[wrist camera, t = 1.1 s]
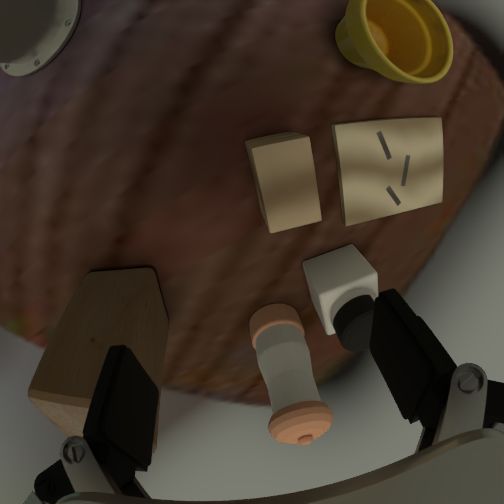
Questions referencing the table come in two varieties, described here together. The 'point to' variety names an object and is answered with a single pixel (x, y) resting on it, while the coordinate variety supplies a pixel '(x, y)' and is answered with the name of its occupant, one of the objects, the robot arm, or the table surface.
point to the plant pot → (396, 39)
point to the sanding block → (284, 180)
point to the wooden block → (100, 343)
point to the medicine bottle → (344, 294)
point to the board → (388, 166)
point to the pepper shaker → (288, 375)
